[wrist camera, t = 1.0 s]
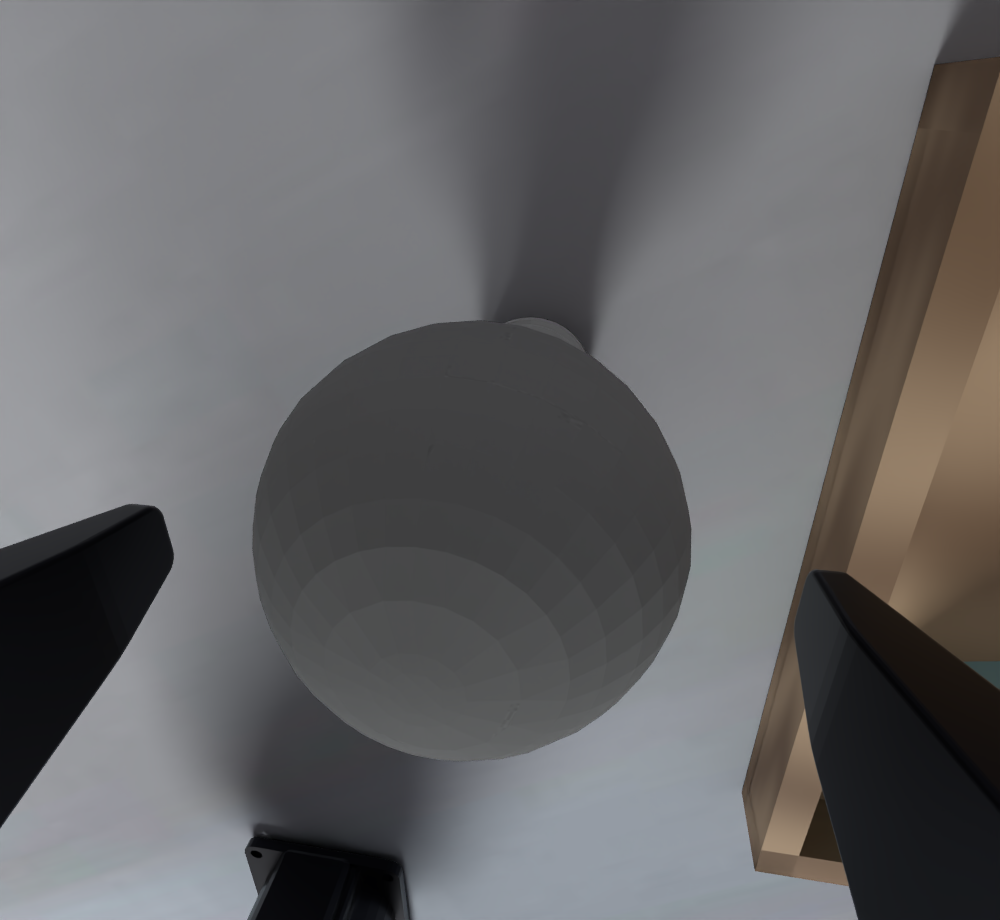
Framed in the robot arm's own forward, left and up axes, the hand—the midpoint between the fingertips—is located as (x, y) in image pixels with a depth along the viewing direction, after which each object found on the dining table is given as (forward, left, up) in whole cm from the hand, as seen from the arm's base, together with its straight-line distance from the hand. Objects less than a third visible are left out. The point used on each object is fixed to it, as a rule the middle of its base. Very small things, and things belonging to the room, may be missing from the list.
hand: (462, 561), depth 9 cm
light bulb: (0, 0, -8) cm, 8 cm away
